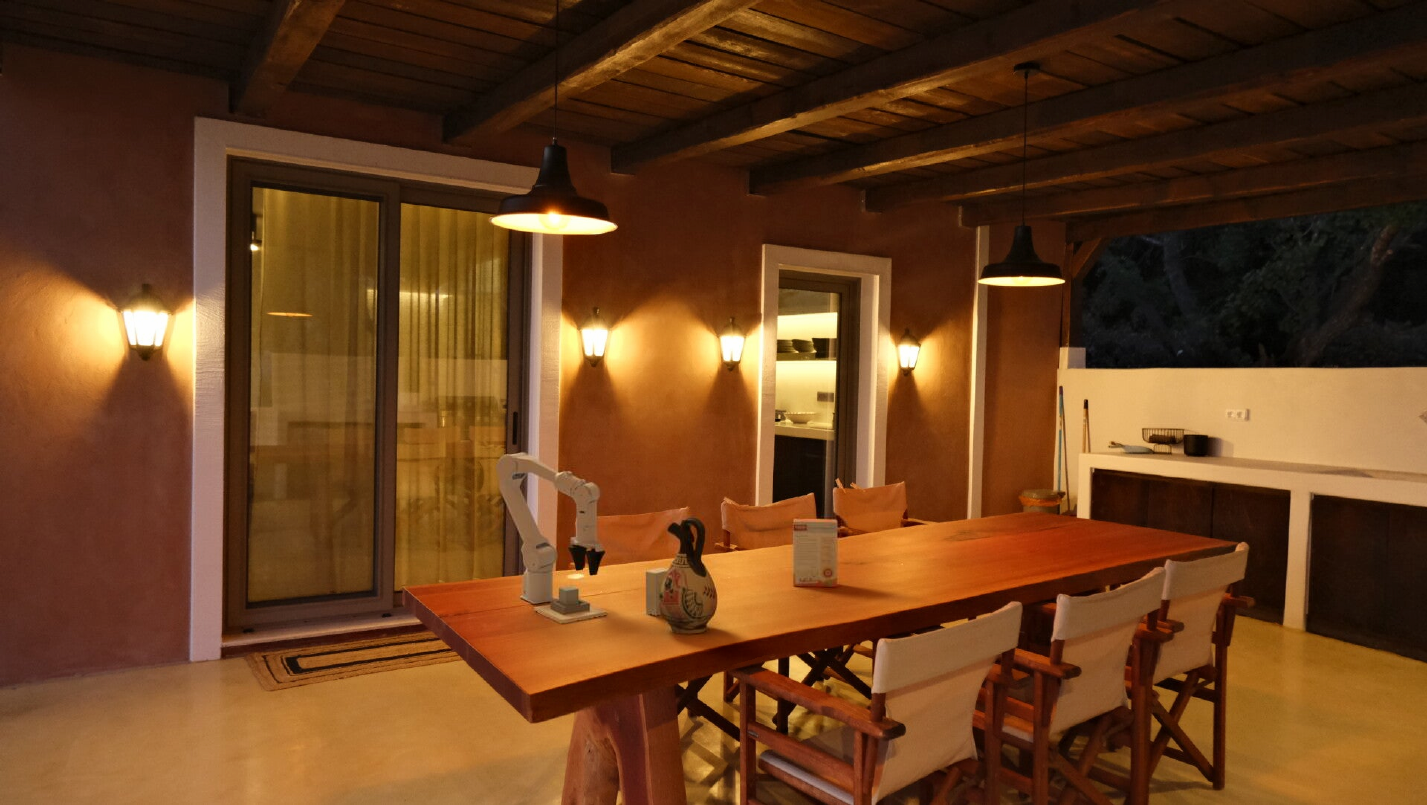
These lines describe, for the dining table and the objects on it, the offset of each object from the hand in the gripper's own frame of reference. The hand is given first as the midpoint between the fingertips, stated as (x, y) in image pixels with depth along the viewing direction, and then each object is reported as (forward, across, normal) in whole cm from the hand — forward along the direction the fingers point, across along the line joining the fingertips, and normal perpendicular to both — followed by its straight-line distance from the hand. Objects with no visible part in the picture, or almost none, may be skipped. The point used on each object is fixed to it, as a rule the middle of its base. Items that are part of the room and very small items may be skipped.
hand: (586, 572), depth 256 cm
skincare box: (+10, +19, +12) cm, 24 cm away
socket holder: (+9, +5, -8) cm, 13 cm away
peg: (+8, +5, -9) cm, 13 cm away
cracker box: (+10, +23, +70) cm, 75 cm away
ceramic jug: (+10, +38, +8) cm, 40 cm away
